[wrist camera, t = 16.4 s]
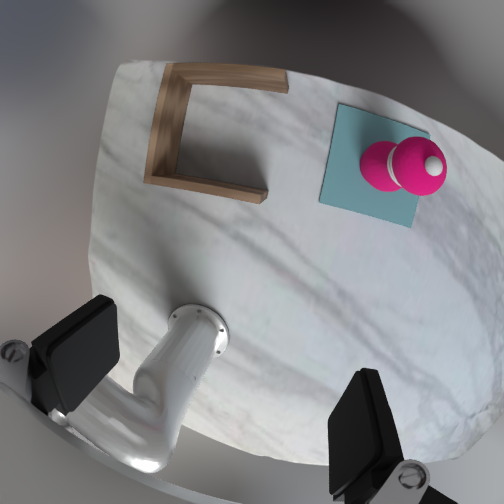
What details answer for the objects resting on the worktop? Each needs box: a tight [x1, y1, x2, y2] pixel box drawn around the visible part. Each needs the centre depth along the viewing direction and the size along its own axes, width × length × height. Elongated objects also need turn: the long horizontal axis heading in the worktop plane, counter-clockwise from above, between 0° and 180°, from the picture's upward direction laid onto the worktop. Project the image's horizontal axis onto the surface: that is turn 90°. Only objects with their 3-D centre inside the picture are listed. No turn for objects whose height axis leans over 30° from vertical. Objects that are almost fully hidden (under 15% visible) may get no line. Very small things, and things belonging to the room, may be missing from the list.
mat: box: [319, 104, 430, 228], centre depth 37 cm, size 16×16×1 cm
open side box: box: [144, 63, 289, 204], centre depth 36 cm, size 18×17×8 cm
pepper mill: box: [360, 136, 447, 196], centre depth 28 cm, size 7×7×20 cm
